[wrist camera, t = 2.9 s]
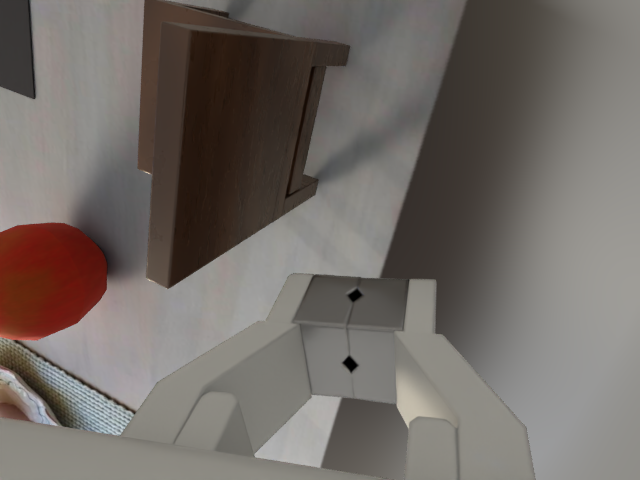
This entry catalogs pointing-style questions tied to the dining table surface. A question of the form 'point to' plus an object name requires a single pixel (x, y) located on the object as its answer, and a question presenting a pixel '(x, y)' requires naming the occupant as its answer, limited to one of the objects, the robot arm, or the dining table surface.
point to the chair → (222, 130)
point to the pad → (16, 47)
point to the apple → (47, 279)
